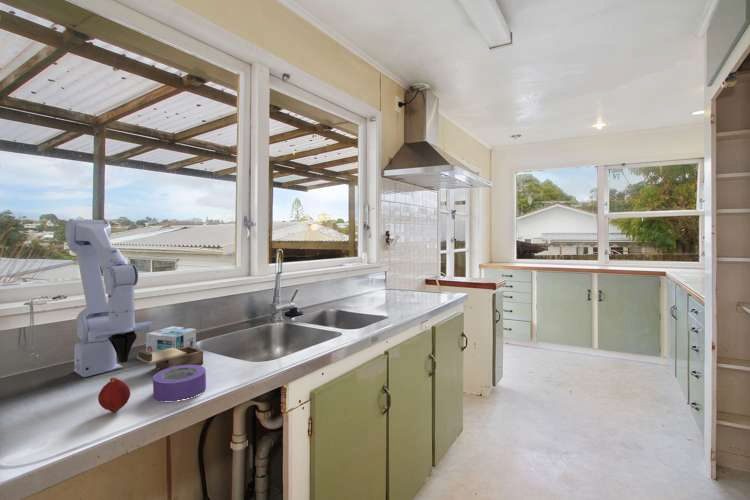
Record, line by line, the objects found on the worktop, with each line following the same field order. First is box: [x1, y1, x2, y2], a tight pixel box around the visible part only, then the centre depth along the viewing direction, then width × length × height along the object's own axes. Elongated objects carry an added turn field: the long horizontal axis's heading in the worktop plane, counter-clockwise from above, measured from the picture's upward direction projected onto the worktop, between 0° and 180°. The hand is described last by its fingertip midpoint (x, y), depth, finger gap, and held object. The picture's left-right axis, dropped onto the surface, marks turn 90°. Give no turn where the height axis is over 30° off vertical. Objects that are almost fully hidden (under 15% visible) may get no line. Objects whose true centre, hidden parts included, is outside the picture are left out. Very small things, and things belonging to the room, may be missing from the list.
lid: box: [136, 348, 187, 365], centre depth 108 cm, size 10×8×2 cm
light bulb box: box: [145, 325, 197, 353], centre depth 126 cm, size 11×7×11 cm
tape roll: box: [152, 365, 207, 403], centre depth 95 cm, size 12×12×5 cm
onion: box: [97, 376, 131, 414], centre depth 84 cm, size 6×6×8 cm
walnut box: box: [155, 346, 204, 371], centre depth 113 cm, size 10×8×4 cm
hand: (122, 361), depth 100 cm, fingers closed
